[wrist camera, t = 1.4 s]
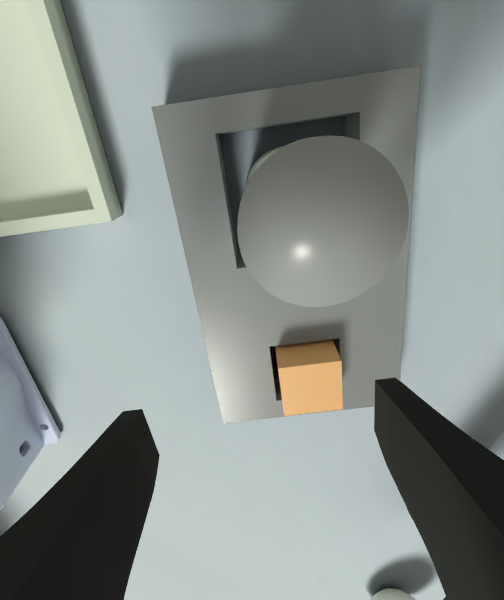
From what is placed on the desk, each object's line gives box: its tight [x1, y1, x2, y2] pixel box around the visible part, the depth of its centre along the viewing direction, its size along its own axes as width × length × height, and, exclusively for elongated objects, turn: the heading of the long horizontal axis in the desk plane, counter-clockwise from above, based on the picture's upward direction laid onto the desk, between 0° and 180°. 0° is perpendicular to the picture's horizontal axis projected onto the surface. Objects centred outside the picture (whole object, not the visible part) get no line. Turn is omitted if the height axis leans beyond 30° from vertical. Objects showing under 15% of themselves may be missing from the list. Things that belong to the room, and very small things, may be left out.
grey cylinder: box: [237, 135, 409, 307], centre depth 12 cm, size 4×4×8 cm
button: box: [275, 339, 343, 416], centre depth 17 cm, size 3×3×2 cm
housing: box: [152, 65, 421, 423], centre depth 17 cm, size 16×10×2 cm, turn 8°
